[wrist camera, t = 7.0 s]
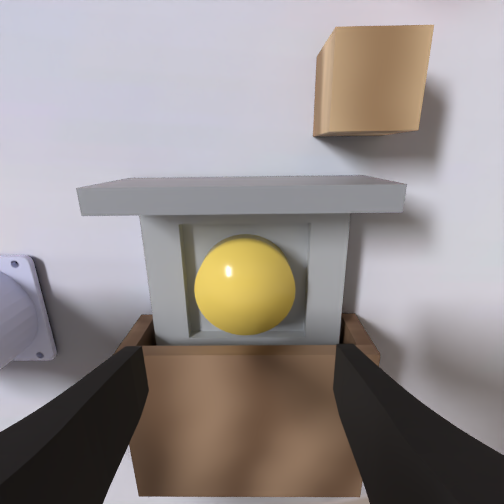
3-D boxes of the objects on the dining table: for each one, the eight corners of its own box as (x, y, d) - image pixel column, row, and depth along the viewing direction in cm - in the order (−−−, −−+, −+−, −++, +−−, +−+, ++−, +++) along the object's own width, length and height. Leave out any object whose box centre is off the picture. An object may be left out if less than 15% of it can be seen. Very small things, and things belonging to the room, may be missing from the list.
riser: (312, 136, 17) (329, 131, 14) (316, 56, 16) (335, 26, 12) (382, 135, 17) (418, 130, 13) (391, 55, 16) (434, 24, 12)
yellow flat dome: (201, 317, 20) (196, 334, 18) (198, 233, 18) (192, 242, 16) (288, 318, 20) (292, 336, 18) (294, 235, 18) (298, 244, 16)
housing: (159, 437, 25) (138, 496, 20) (141, 314, 21) (112, 355, 17) (341, 437, 24) (360, 497, 20) (354, 313, 21) (380, 354, 17)
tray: (151, 341, 22) (117, 402, 16) (128, 178, 18) (76, 188, 13) (345, 340, 21) (375, 401, 16) (362, 175, 18) (406, 184, 13)
